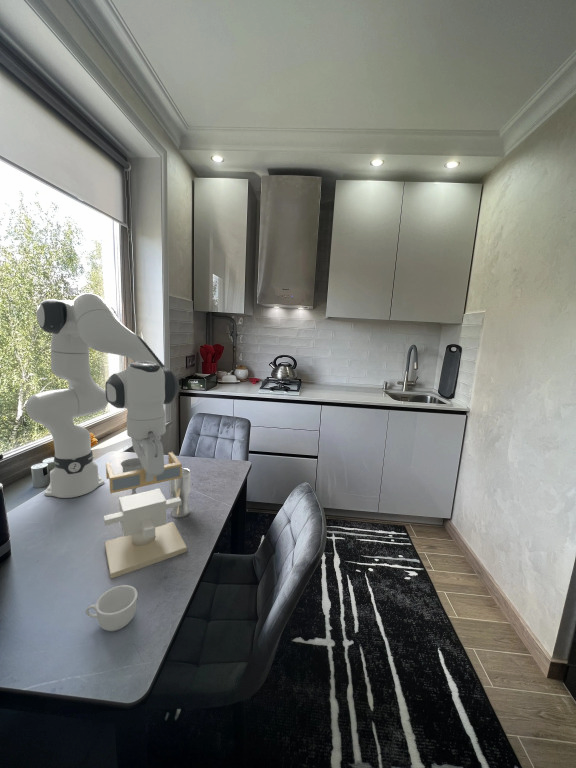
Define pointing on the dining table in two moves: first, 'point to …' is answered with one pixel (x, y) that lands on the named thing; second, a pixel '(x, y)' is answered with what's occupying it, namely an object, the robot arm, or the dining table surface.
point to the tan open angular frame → (142, 476)
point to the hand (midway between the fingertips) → (147, 478)
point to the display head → (142, 533)
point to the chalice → (131, 467)
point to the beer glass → (181, 493)
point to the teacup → (115, 607)
